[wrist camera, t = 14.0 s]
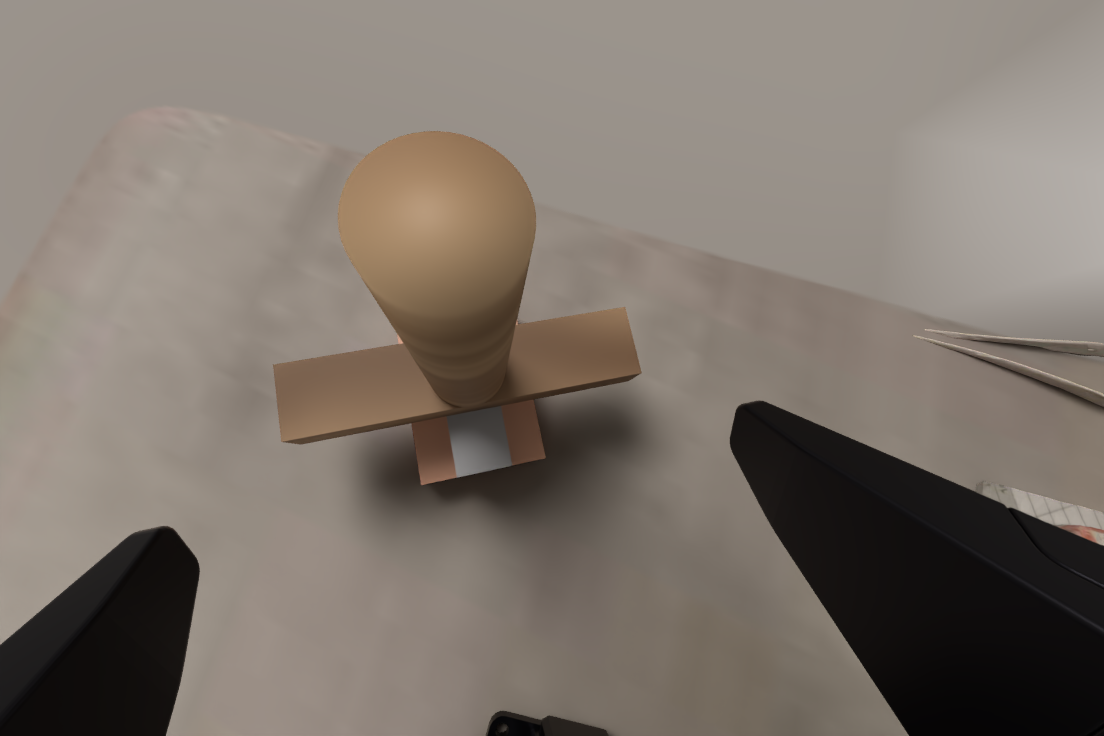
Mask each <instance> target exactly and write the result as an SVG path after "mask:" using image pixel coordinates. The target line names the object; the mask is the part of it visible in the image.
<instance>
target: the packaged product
mask: <svg viewBox="0 0 1104 736" xmlns="http://www.w3.org/2000/svg"><path fill="white" fill-rule="evenodd" d="M976 492H977V493H979V494H982V495H984V496H986V497H989V498H991V499H993V500H996V501H998V502H1000V503H1003V504H1004V505H1006V507H1007V508H1009V507H1012V508H1015V509H1017V510H1019V511H1022V512H1024V513H1026V514H1029V515H1031V516H1033V517H1036V518H1038V519H1040V520H1042V521H1045V522H1047V523H1050V524H1052V525H1054V526H1057V527H1059V528H1062V529H1064V530H1067V531H1069V532H1071V533H1074V534H1076V535H1079V536H1081V537H1083V538H1086V539H1088V540H1091V541H1093V542H1096V543H1098V544H1101V545H1103V546H1104V513H1103V512H1099V511H1096V510H1092V509H1089V508H1085V507H1082V506H1078V505H1074V504H1069V503H1064V502H1060V501H1057V500H1054V499H1050V498H1047V497H1043V496H1040V495H1036V494H1033V493H1029V492H1024V491H1020V490H1017V489H1014V488H1011V487H1007V486H1003V485H999V484H994V483H990V482H986V481H982V482H981V483H979V484H977V485H976Z"/></svg>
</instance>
